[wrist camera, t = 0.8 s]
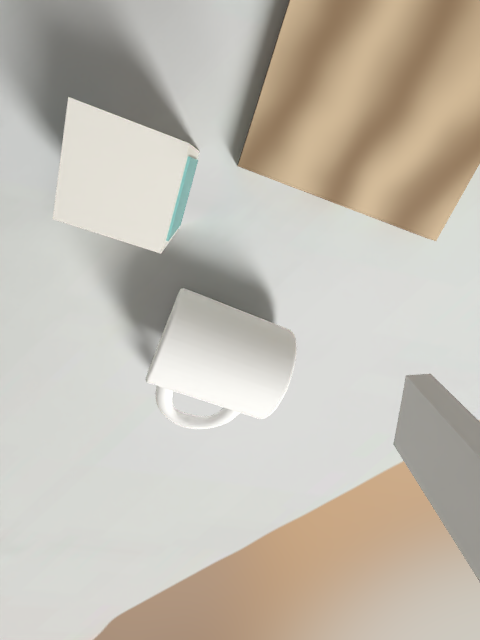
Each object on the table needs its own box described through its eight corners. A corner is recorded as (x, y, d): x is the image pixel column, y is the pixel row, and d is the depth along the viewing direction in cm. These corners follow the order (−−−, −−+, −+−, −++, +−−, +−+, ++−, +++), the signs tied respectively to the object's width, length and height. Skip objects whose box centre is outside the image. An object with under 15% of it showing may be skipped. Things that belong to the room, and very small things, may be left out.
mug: (185, 274, 29) (173, 309, 22) (287, 315, 32) (307, 359, 24) (143, 382, 34) (121, 441, 26) (235, 412, 36) (238, 475, 28)
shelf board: (237, 165, 26) (239, 165, 23) (340, -164, 19) (364, -230, 16) (425, 237, 29) (450, 246, 26) (571, -28, 22) (629, -60, 19)
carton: (102, 203, 27) (49, 218, 19) (117, 120, 25) (65, 95, 16) (180, 229, 28) (163, 254, 20) (201, 152, 26) (192, 144, 17)
